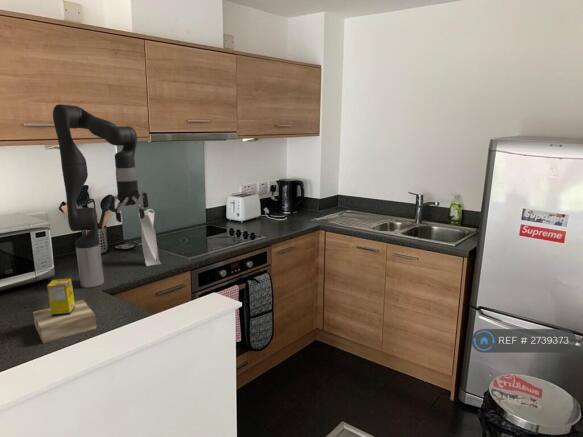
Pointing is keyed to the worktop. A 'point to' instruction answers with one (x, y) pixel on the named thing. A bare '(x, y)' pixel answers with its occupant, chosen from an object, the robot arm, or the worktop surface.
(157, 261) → the skyscraper
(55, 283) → the supplement box
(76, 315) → the oak support block
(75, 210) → the robot arm
